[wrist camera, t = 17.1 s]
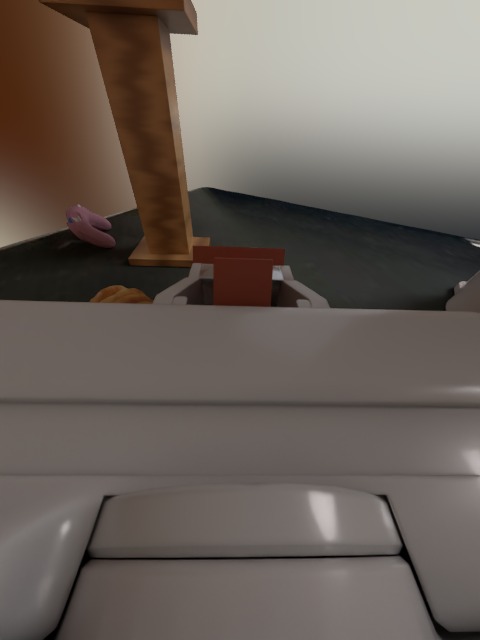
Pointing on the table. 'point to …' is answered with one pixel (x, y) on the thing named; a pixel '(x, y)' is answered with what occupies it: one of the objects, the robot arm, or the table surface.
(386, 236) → the table surface
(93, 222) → the video game controller
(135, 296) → the pastry
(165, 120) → the stand
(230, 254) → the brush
